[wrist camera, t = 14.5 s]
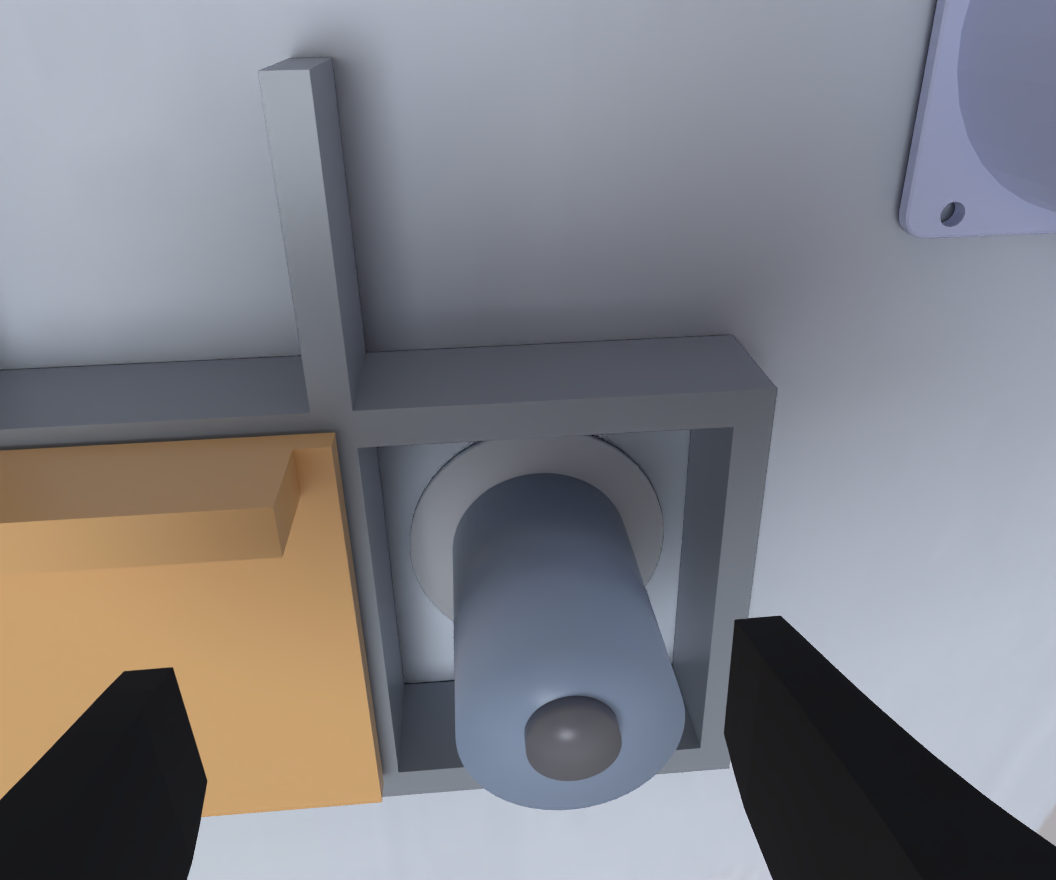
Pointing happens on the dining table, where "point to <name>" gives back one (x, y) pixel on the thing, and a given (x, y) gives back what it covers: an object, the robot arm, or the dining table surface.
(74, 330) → the dining table surface
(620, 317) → the dining table surface
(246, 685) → the lid
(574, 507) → the blue-grey cylinder
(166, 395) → the housing
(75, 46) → the dining table surface
